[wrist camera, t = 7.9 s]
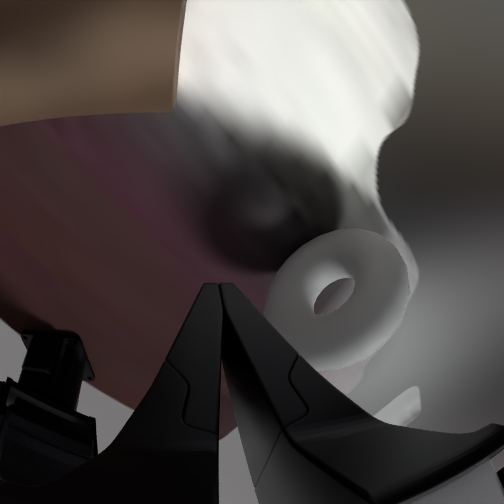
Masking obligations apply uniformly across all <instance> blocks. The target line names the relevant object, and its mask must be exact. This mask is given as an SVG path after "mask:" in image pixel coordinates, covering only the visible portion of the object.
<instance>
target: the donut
mask: <svg viewBox="0 0 504 504" xmlns="http://www.w3.org/2000/svg"><path fill="white" fill-rule="evenodd" d="M342 278H353V279H354V280H355V288H354V291H353V293H352V295H351V296H350V297H349V299H348V300H347V302H345V303H344V304H343V305H342V306H341V307H340V308H339V309H337V310H335V311H333V312H331V313H329V314H323V315H316V314H315V313H314V310H313V308H314V303H315V301H316V298H317V296H318V295H319V294H320V292H321V291H322V290H323V289H324V288H325V287H326V286H327V285H328V284H330V283H332V282H334V281H335V280H338V279H342ZM409 293H410V290H409V280H408V271H407V266H406V264H405V262H404V260H403V259H402V257H401V255H400V253H399V252H398V250H397V248H396V247H395V246H394V245H393V244H392V243H390V242H389V241H388V240H386V239H385V238H384V237H382V236H381V235H379V234H377V233H375V232H371V231H367V230H363V229H359V228H355V229H340V230H335V231H332V232H329V233H326V234H323V235H320V236H318V237H316V238H314V239H312V240H311V241H309V242H307V243H306V244H304V245H302V246H301V247H300V248H299V249H298V250H297V251H295V252H294V253H293V254H292V255H291V256H290V257H288V259H287V260H286V261H285V263H284V264H283V265H282V266H281V268H280V269H279V270H278V271H277V273H276V275H275V277H274V279H273V281H272V283H271V285H270V287H269V289H268V292H267V296H266V301H265V306H264V317H265V318H266V319H267V320H268V321H269V322H270V323H271V324H272V326H273V327H274V328H275V329H276V330H277V331H278V332H279V333H280V334H281V335H282V336H283V337H284V338H285V339H286V340H287V341H288V342H289V343H290V345H291V346H292V347H293V348H294V349H295V350H296V351H297V352H298V353H299V355H301V356H302V357H303V358H304V359H305V360H306V361H307V362H308V363H309V364H310V365H311V366H312V367H313V368H314V369H315V370H316V371H324V370H334V369H343V368H346V367H348V366H350V365H352V364H355V363H357V362H359V361H361V360H364V359H366V358H368V357H369V356H371V355H372V354H373V353H374V352H375V351H376V350H378V349H379V348H380V347H381V346H382V345H383V344H385V343H386V342H387V341H388V340H389V338H390V337H391V335H392V334H393V332H394V331H395V329H396V328H397V326H398V324H399V323H400V321H401V320H402V318H403V316H404V313H405V309H406V305H407V301H408V297H409Z"/></svg>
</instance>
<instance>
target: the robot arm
mask: <svg viewBox="0 0 504 504" xmlns="http://www.w3.org/2000/svg"><path fill="white" fill-rule="evenodd" d="M21 338H22V341H23V342H24V345H25V347H26V349H27V354H26V356H25V359H24V362H23V365H22V371H21V374H20V377H19V381H18V383H17V382H15V381H13V379H11V378H10V377H7V380H6V382H2V381H0V504H219V473H218V472H219V469H218V468H219V465H218V464H219V459H218V458H219V413H220V383H221V359H222V364H223V369H224V373H225V377H226V381H227V386H228V390H229V394H230V398H231V402H232V406H233V410H234V414H235V418H236V422H237V426H238V430H239V434H240V437H241V441H242V445H243V449H244V452H245V456H246V460H247V463H248V467H249V471H250V474H251V478H252V481H253V484H254V487H255V492H256V495H257V499H258V502H259V504H504V467H503V468H502V469H500V470H499V471H498V472H496V471H495V469H494V467H493V465H492V463H491V461H490V459H491V458H493V457H494V456H495V455H497V454H498V453H499V452H501V451H502V450H503V449H504V425H500V424H495V423H491V424H488V425H486V426H484V427H483V428H481V429H479V430H477V431H474V432H471V433H462V434H455V433H444V432H436V431H428V430H422V429H415V428H409V427H403V426H397V425H392V424H388V423H385V422H383V421H380V420H378V419H377V418H375V417H373V416H372V415H370V414H369V413H367V412H366V411H365V410H363V409H362V408H361V407H360V406H358V405H357V404H356V403H354V402H353V401H352V400H350V399H349V398H348V397H347V396H346V395H344V394H343V393H342V392H340V391H339V390H338V389H337V388H335V387H334V386H333V385H332V384H331V383H330V382H328V381H327V380H326V379H325V378H324V377H323V376H321V375H320V374H319V373H318V372H317V371H316V370H315V369H314V368H313V367H312V366H311V365H310V364H309V363H308V362H307V361H306V360H305V359H304V358H303V357H302V356H301V355H299V353H298V352H297V351H296V350H295V349H294V348H293V347H292V346H291V345H290V343H289V342H288V341H287V340H286V339H285V338H284V337H283V336H282V335H281V334H280V333H279V332H278V331H277V330H276V329H275V328H274V327H273V326H272V324H271V323H270V322H269V321H268V320H267V319H266V318H265V317H264V316H263V315H262V314H261V313H260V312H259V311H258V310H257V308H256V307H255V306H254V305H253V304H252V303H251V302H250V301H249V300H248V299H247V298H246V297H245V295H244V294H243V293H242V292H241V291H240V290H239V289H238V288H237V287H236V286H235V285H234V284H233V283H220V284H219V285H218V284H217V283H204V284H203V286H202V287H201V289H200V291H199V293H198V295H197V297H196V299H195V301H194V303H193V305H192V307H191V309H190V311H189V313H188V315H187V317H186V319H185V321H184V323H183V325H182V327H181V329H180V331H179V333H178V335H177V337H176V339H175V341H174V343H173V345H172V347H171V349H170V351H169V353H168V355H167V357H166V359H165V361H164V362H163V364H162V366H161V368H160V370H159V372H158V374H157V376H156V378H155V380H154V382H153V383H152V385H151V387H150V388H149V390H148V392H147V393H146V395H145V396H144V398H143V399H142V401H141V402H140V404H139V405H138V407H137V408H136V409H135V411H134V412H133V414H132V415H131V417H130V418H129V419H128V421H127V422H126V424H125V425H124V427H123V428H122V430H121V431H120V433H119V434H118V435H117V437H116V438H115V439H114V440H113V442H112V443H111V444H110V445H109V446H108V447H107V448H106V449H105V450H104V451H102V452H101V453H99V454H98V449H97V435H96V420H95V418H93V417H90V416H89V417H88V416H86V415H83V414H81V413H79V412H76V411H77V405H78V399H79V394H80V389H81V383H82V380H84V381H94V379H95V375H94V372H93V370H92V367H91V365H90V362H89V360H88V357H87V354H86V351H85V349H84V346H83V343H82V340H81V338H80V337H78V336H75V335H62V334H50V333H39V332H29V331H23V332H22V333H21Z"/></svg>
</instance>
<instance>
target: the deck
mask: <svg viewBox="0 0 504 504" xmlns="http://www.w3.org/2000/svg"><path fill="white" fill-rule="evenodd" d="M186 2H187V0H0V126H4V125H9V124H16V123H22V122H29V121H36V120H44V119H53V118H62V117H72V116H85V115H99V114H119V113H171V112H172V110H173V108H174V106H175V104H176V97H177V84H178V72H179V61H180V51H181V42H182V33H183V25H184V17H185V9H186Z"/></svg>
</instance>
